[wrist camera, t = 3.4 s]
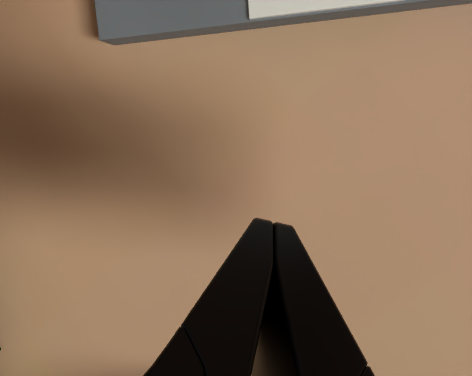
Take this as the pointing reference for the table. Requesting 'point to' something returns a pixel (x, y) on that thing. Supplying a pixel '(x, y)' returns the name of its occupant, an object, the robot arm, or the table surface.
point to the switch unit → (230, 15)
